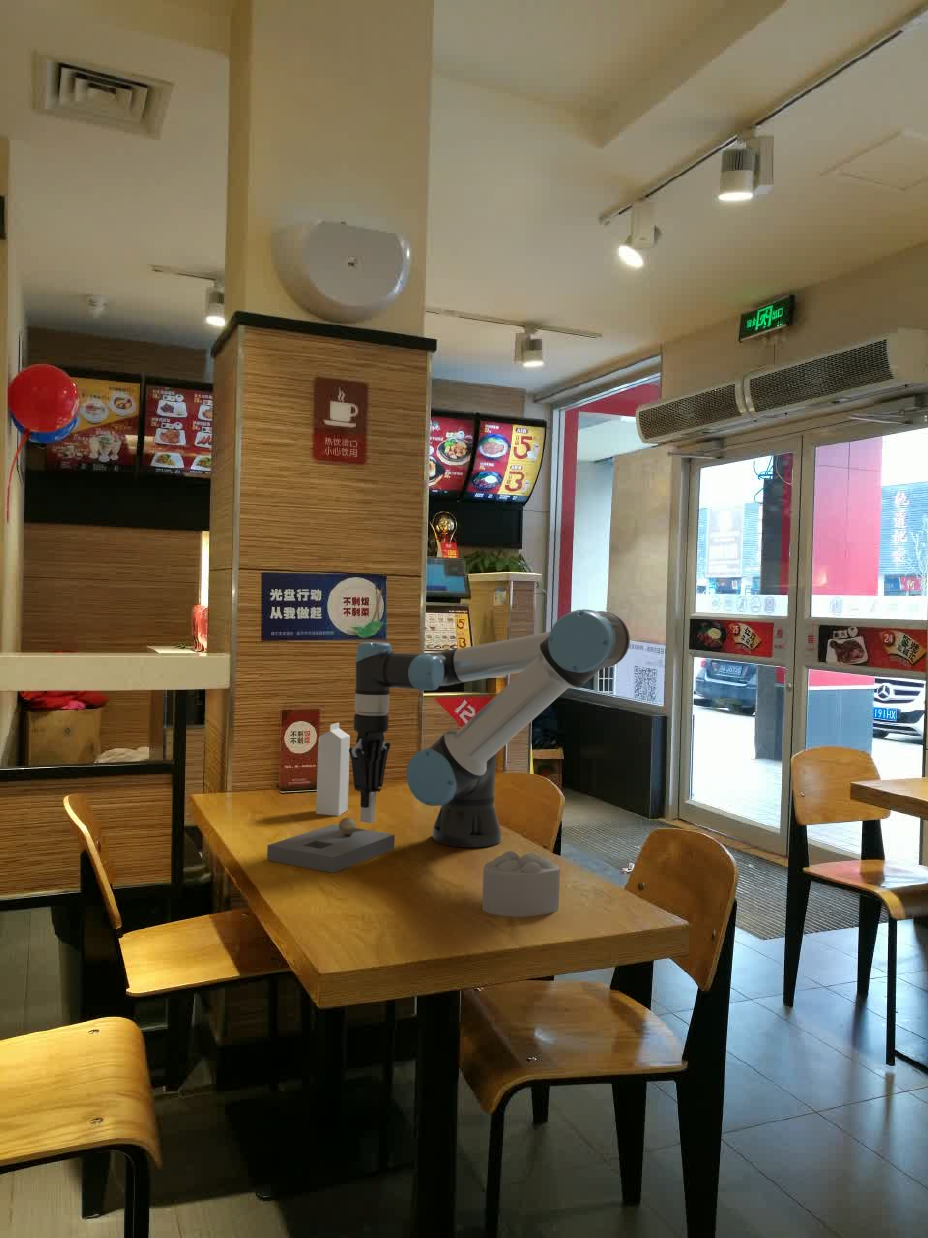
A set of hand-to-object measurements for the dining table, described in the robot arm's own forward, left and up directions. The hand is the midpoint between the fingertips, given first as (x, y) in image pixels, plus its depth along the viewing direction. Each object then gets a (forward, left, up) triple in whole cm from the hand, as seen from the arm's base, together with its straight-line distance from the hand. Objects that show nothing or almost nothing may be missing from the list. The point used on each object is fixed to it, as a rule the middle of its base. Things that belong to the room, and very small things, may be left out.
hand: (367, 821), depth 203 cm
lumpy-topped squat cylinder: (-46, +23, -5) cm, 52 cm away
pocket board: (0, +13, -4) cm, 14 cm away
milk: (+23, -19, -5) cm, 30 cm away
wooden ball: (0, +8, 0) cm, 8 cm away
